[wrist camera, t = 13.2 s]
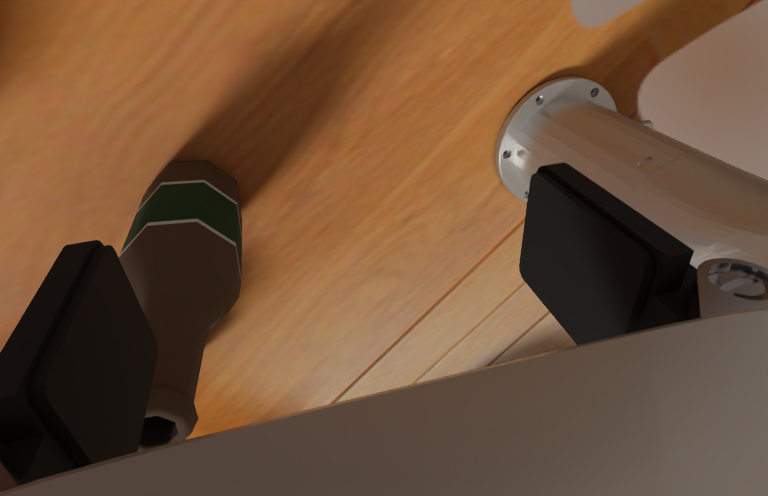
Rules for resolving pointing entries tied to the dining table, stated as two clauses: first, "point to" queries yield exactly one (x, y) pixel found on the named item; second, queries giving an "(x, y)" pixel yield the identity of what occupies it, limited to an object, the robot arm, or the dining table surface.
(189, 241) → the beer bottle
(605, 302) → the robot arm
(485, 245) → the dining table surface
